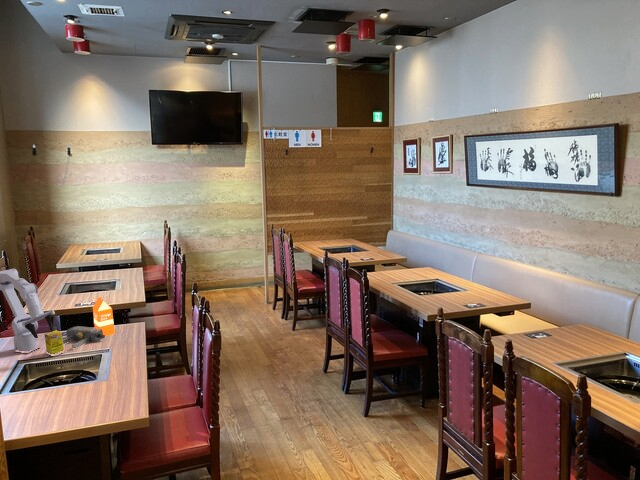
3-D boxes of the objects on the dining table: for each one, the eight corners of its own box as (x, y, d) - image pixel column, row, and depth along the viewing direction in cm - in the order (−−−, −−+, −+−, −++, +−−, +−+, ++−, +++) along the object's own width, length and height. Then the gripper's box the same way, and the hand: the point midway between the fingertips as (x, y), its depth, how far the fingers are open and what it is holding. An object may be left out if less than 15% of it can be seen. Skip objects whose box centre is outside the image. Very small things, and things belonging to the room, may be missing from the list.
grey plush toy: (50, 347, 253) (49, 336, 252) (75, 335, 269) (74, 324, 268) (84, 351, 247) (83, 340, 246) (108, 338, 263) (106, 328, 262)
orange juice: (109, 329, 277) (106, 295, 273) (114, 333, 270) (111, 298, 266) (94, 333, 272) (91, 298, 268) (100, 337, 265) (96, 301, 262)
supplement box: (52, 357, 241) (49, 336, 239) (46, 354, 245) (43, 333, 243) (64, 353, 246) (62, 332, 244) (58, 350, 249) (56, 329, 247)
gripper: (15, 313, 232) (25, 340, 230) (46, 301, 235) (56, 327, 233) (22, 314, 239) (31, 340, 237) (52, 302, 241) (62, 328, 239)
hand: (44, 334), depth 235 cm, fingers open, 7 cm apart
